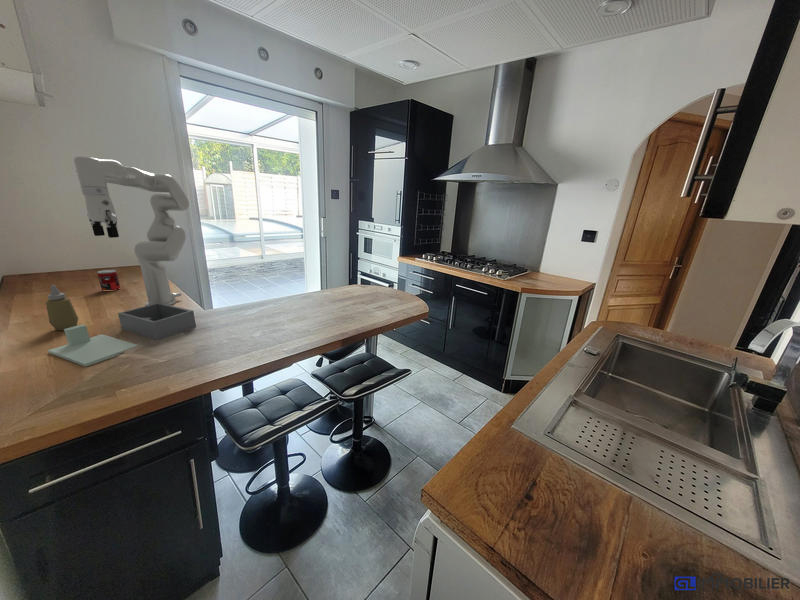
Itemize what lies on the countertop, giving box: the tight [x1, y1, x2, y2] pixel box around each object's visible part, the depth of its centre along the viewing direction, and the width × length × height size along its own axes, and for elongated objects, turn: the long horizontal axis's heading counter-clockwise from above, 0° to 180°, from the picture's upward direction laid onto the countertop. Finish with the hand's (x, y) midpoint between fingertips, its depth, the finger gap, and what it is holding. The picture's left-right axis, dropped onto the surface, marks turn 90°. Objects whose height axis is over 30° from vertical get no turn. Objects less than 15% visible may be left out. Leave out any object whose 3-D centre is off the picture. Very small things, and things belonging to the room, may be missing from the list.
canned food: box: [96, 269, 121, 291], centre depth 175 cm, size 8×8×11 cm
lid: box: [47, 324, 139, 368], centre depth 107 cm, size 15×22×8 cm
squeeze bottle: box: [45, 284, 79, 332], centre depth 122 cm, size 8×8×18 cm
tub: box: [117, 303, 197, 341], centre depth 125 cm, size 15×22×8 cm
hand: (106, 236), depth 125 cm, fingers open, 9 cm apart
